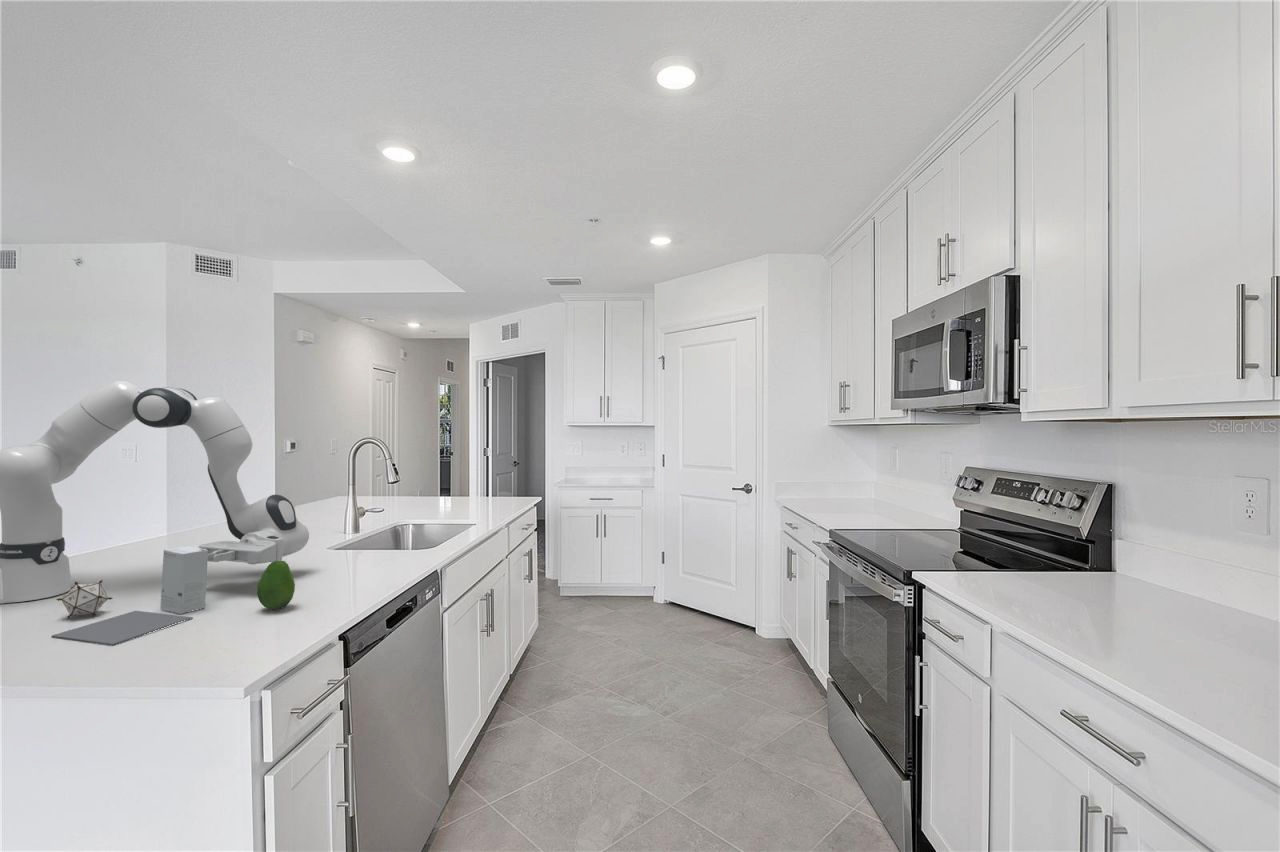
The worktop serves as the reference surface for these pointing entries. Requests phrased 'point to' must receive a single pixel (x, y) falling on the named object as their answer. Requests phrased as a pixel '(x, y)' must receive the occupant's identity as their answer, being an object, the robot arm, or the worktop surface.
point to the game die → (84, 599)
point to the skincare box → (184, 579)
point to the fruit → (276, 586)
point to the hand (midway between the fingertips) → (210, 558)
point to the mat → (121, 628)
